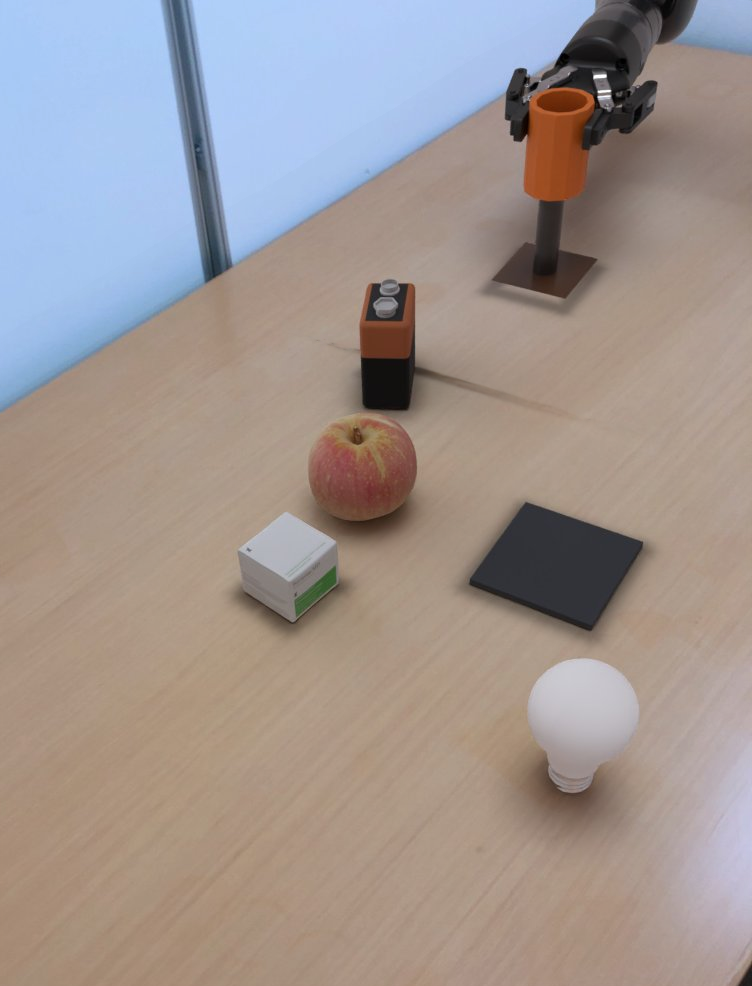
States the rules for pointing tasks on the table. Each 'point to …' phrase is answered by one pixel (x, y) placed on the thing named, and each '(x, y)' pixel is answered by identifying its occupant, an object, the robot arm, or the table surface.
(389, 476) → the apple
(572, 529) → the mat
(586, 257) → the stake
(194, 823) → the table surface
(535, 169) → the tube
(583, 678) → the light bulb
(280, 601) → the small box
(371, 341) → the battery
